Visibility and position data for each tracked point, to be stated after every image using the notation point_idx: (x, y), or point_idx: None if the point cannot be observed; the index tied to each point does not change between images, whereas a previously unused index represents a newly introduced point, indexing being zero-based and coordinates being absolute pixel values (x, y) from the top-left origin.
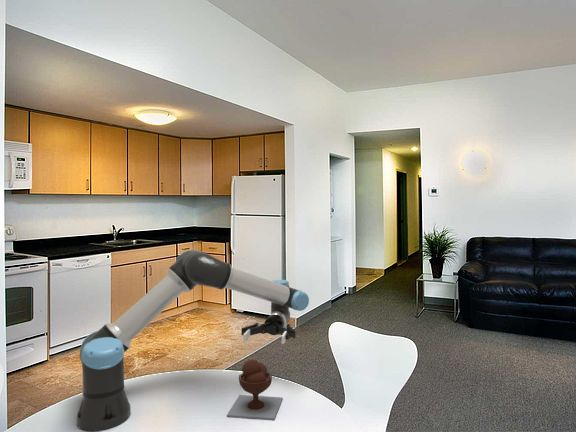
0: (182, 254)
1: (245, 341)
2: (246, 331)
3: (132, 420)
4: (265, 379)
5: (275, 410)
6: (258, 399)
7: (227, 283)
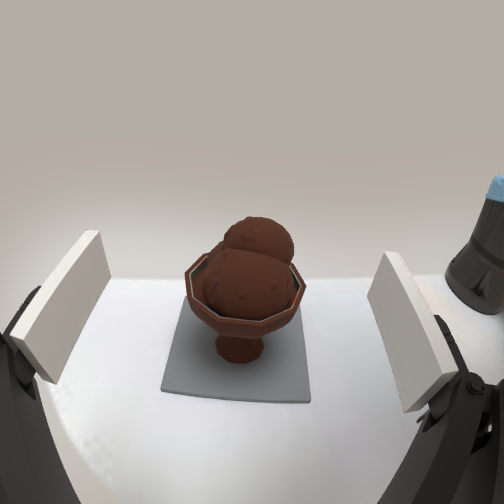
0: None
1: (368, 292)
2: (428, 309)
3: (443, 288)
4: (206, 260)
5: (182, 323)
6: (239, 376)
7: None
